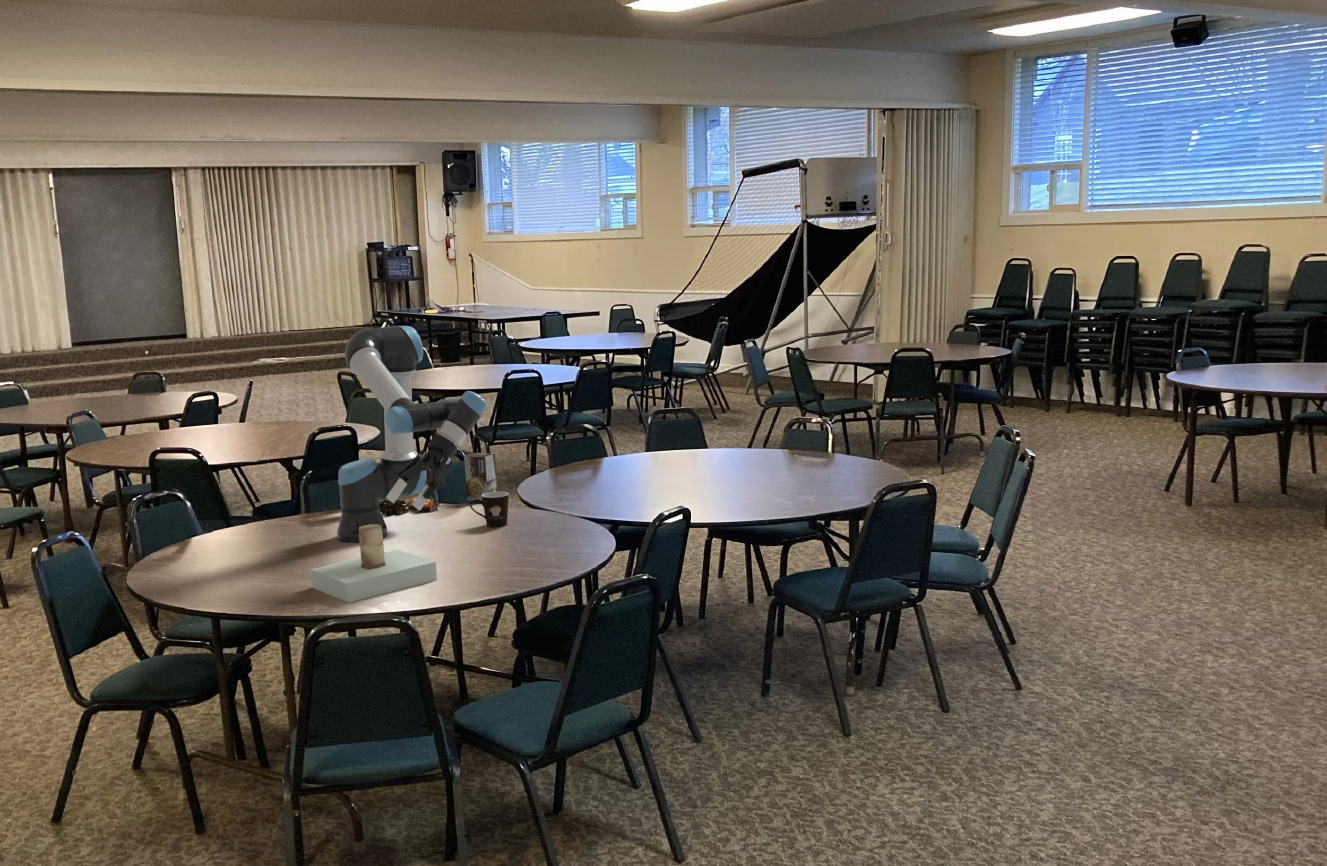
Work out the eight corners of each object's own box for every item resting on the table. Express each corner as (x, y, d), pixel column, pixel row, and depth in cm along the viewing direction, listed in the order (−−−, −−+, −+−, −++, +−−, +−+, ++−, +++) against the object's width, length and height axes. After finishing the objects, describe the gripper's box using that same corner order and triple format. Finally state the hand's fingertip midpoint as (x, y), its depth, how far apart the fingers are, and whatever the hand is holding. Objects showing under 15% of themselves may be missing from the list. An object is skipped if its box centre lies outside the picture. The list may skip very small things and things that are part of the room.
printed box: (498, 498, 409) (495, 453, 407) (488, 502, 403) (485, 456, 401) (476, 496, 413) (473, 452, 410) (466, 500, 407) (463, 455, 405)
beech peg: (358, 582, 308) (354, 527, 306) (379, 577, 312) (374, 523, 310) (370, 586, 304) (365, 531, 301) (390, 581, 308) (386, 526, 306)
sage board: (311, 587, 307) (310, 569, 306) (398, 566, 324) (396, 549, 323) (348, 602, 292) (347, 583, 291) (437, 579, 310) (435, 561, 309)
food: (379, 519, 385) (378, 509, 384) (372, 509, 402) (371, 499, 401) (445, 512, 392) (444, 502, 392) (435, 502, 410) (434, 492, 409)
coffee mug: (515, 522, 372) (513, 492, 370) (503, 529, 364) (501, 498, 362) (482, 521, 375) (481, 490, 374) (470, 527, 367) (468, 496, 366)
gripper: (481, 454, 312) (436, 518, 305) (431, 444, 331) (388, 505, 323) (463, 437, 308) (417, 502, 300) (414, 428, 326) (370, 489, 319)
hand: (402, 504), depth 312 cm, fingers open, 13 cm apart
